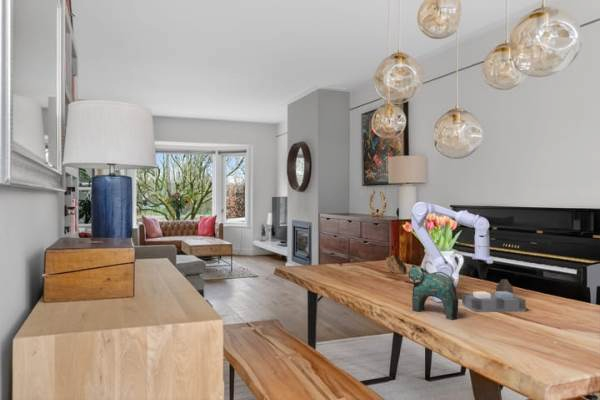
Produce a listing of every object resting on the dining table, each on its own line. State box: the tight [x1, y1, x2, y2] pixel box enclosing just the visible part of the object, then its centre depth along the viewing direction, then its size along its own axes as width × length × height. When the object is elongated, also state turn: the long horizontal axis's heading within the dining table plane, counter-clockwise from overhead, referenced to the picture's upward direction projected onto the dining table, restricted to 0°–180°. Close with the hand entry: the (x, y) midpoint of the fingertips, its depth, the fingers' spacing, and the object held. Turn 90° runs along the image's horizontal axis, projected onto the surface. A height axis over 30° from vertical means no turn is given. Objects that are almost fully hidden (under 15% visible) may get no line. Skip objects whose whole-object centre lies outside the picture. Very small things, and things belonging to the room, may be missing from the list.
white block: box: [472, 291, 491, 298], centre depth 176 cm, size 5×5×4 cm
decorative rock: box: [385, 254, 408, 275], centre depth 259 cm, size 12×6×11 cm, turn 51°
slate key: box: [494, 290, 514, 298], centre depth 176 cm, size 5×5×4 cm
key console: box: [461, 292, 527, 313], centre depth 176 cm, size 20×12×4 cm, turn 92°
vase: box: [495, 278, 514, 295], centre depth 191 cm, size 7×7×9 cm
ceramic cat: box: [408, 260, 459, 321], centre depth 166 cm, size 20×6×20 cm, turn 37°
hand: (482, 278), depth 184 cm, fingers closed
